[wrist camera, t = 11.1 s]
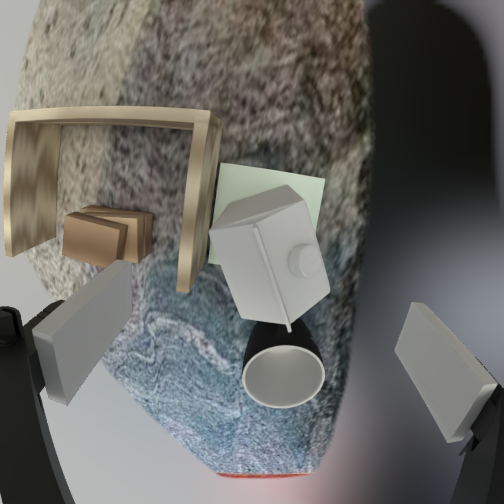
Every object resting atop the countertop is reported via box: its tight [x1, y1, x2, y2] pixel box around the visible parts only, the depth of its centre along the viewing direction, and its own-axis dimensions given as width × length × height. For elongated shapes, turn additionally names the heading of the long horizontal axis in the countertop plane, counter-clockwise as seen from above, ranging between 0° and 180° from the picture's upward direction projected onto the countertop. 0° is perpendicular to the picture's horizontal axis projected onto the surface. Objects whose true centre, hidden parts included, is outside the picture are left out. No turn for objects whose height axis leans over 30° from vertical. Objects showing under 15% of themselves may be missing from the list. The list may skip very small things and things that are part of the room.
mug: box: [242, 318, 325, 408], centre depth 37 cm, size 12×9×10 cm
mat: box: [208, 163, 325, 265], centre depth 38 cm, size 12×12×1 cm
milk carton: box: [208, 184, 330, 332], centre depth 28 cm, size 7×7×19 cm
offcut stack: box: [62, 205, 154, 268], centre depth 35 cm, size 6×9×8 cm, turn 82°
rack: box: [4, 106, 224, 293], centre depth 32 cm, size 17×23×10 cm
